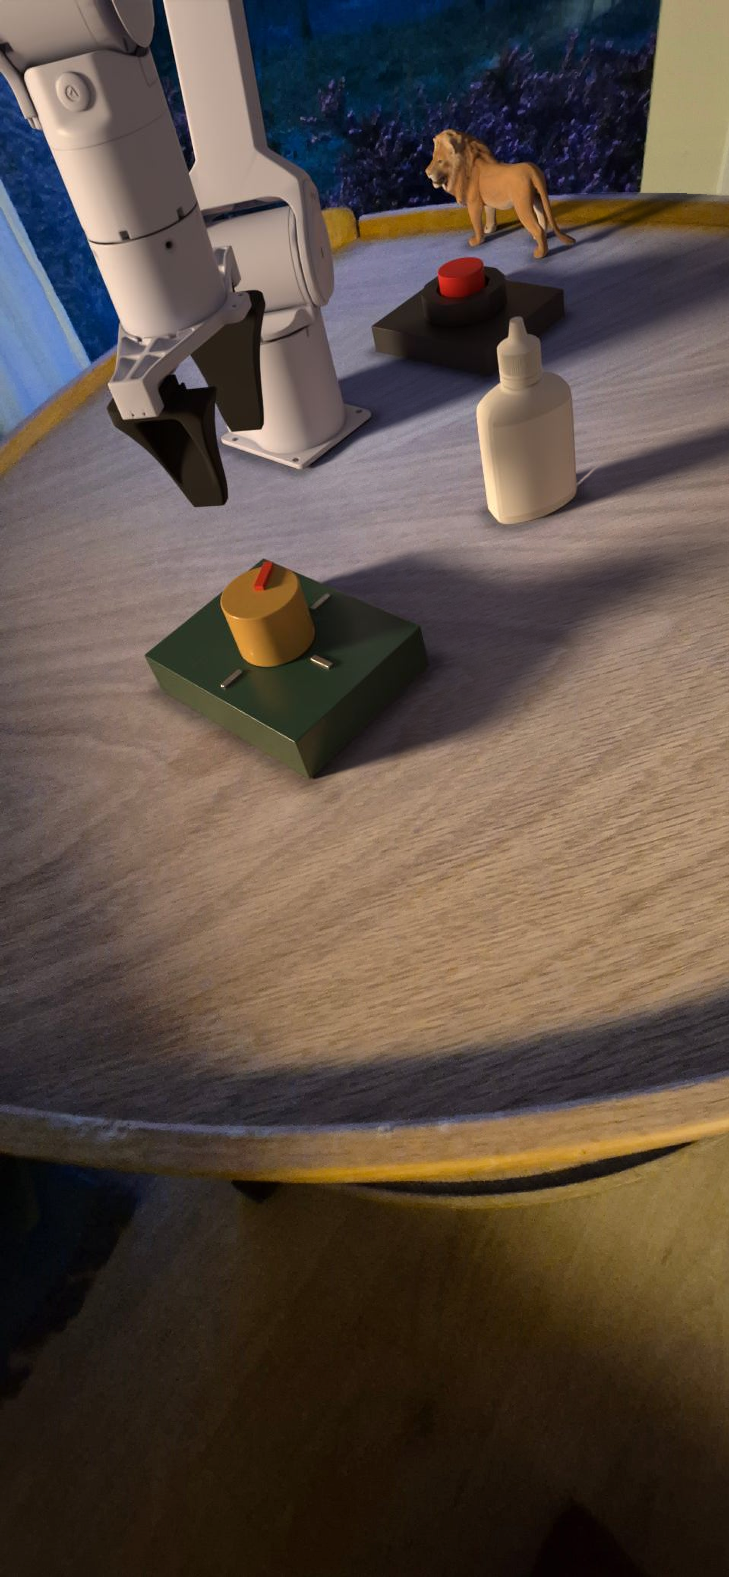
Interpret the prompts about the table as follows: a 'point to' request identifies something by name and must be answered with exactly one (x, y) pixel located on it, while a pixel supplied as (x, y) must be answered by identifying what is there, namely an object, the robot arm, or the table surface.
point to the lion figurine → (492, 187)
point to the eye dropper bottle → (526, 434)
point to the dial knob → (268, 615)
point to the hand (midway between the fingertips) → (230, 464)
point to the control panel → (294, 676)
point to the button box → (466, 323)
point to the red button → (461, 277)
